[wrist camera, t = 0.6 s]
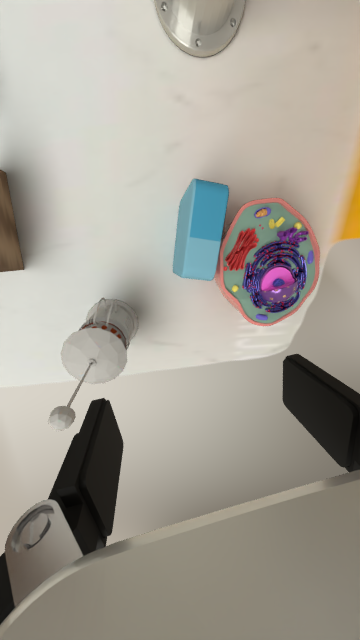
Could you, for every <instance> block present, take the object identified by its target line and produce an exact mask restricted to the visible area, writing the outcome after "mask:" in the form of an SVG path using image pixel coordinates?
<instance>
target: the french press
mask: <svg viewBox="0 0 360 640" xmlns="http://www.w3.org/2000/svg"><path fill="white" fill-rule="evenodd" d="M102 300H103V301H102ZM84 324H85V325H84ZM84 324H83V325H82V326H84V327H81V328H82V329H81V328H80V330H79V331H77V332H74V333H72V334H71V335H70V337H69V338H68V339H67V340H66V341H65V342H64V344H63V347H62V351H61V357H62V363H63V365H64V367H65V368H66V370H67V371H68V373H69V374H70V375H72V376H73V377H75V378H76V379H78V380H79V381H80V383H79V385H78V386H77V389H76V390H75V392H74V394H73V396H72V398H71V399H70V401H69V403H68V405H67V407H66V406H59V407H56V408H55V409H54V410H53V411H52V412H51V414H50V417H49V420H48V424H49V425H50V426H51V427H52V429H54V430H55V431H62V430H64V429H67V428H69V427H70V426H71V424H72V423H73V422H74V419H75V412H74V410H73V409H71V408H70V405H71V403H72V401H73V399H74V398H75V396H76V394H77V392H78V390H79V388H80V386H81V384H82V382H86V383H90V384H98V383H105V382H108V381H110V380H112V379H115V378H116V377H117V376H118V375H119V374H120V373H121V372H122V371H123V369H124V367H125V365H126V362H127V351H126V350H127V348H128V346H129V344H127V343H130V340H131V339H132V338H133V337H134V336H135V334H136V332H137V329H138V318H137V316H136V314H135V312H134V310H133V309H132V308H131V307H130V306H128V305H127V304H126V303H124V302H121V301H119V300H116V299H111V300H105V298H102V299H101V300H100V301H99V302H98V303H96V304H95V305H94V306H93V307H92V308H91V309H90V310H89V312H88V315H87V318H86V322H85V323H84ZM126 344H127V345H128V346H127V345H126ZM126 346H127V347H126Z"/></svg>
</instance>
